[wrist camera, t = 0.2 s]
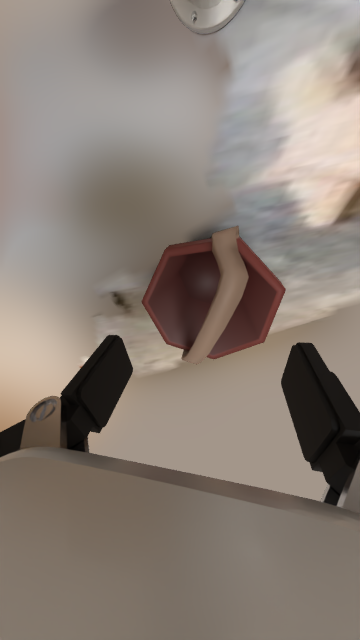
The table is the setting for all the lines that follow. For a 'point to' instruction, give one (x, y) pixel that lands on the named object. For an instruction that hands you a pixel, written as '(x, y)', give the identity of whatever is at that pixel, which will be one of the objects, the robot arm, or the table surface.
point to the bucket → (212, 296)
